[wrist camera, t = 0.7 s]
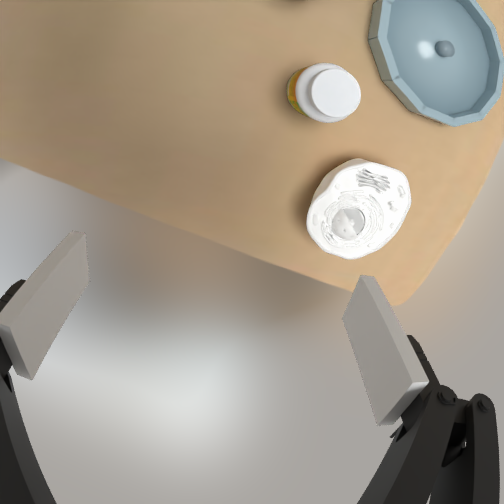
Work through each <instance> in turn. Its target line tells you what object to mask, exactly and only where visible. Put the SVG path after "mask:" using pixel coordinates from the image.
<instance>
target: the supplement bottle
mask: <svg viewBox="0 0 504 504" xmlns="http://www.w3.org/2000/svg"><path fill="white" fill-rule="evenodd" d="M287 97H288V100H289V102H290V104H291V105H292V107H293V108H294V109H295V110H296V111H298V112H299V113H301V114H303V115H305V116H307V117H309V118H312V119H314V120H316V121H320V122H324V123H333V122H338V121H340V120H343V119H344V118H346V117H347V116H348V115H350V114H351V113H353V112H354V111H355V109H356V108H357V107H358V105H359V102H360V99H361V91H360V87H359V84H358V82H357V81H356V79H355V78H354V77H353V76H352V75H351V74H350V73H348V72H347V71H346V70H345V69H343V68H342V67H340V66H338V65H335V64H331V63H318V64H314V65H311V66H308V67H306V68H303V69H300V70H298V71H297V72H295V73H294V74H293V75H292V76H291V78H290V79H289V81H288V84H287Z"/></svg>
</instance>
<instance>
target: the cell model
mask: <svg viewBox="0 0 504 504" xmlns="http://www.w3.org/2000/svg"><path fill="white" fill-rule="evenodd" d="M410 206H411V193H410V187H409V183H408V180H407V177H406V176H405V175H404V174H403V173H402V172H401V171H399V170H397V169H394V168H391V167H388V166H385V165H382V164H379V163H374V162H370V161H367V160H364V159H361V158H356V159H352V160H349V161H347V162H345V163H343V164H341V165H339V166H338V167H336V168H335V169H333V170H332V171H330V172H329V173H328V174H327V175H326V176H325V177H324V178H323V180H322V181H321V183H320V185H319V186H318V188H317V190H316V191H315V193H314V196H313V199H312V202H311V205H310V208H309V211H308V214H307V221H306V225H307V231H308V233H309V235H310V236H311V238H312V239H313V240H314V241H315V242H316V244H317V245H318V246H319V247H320V248H321V249H322V250H323V251H325V252H327V253H329V254H333V255H336V256H339V257H341V258H344V259H358V258H361V257H363V256H366V255H368V254H370V253H373V252H375V251H377V250H379V249H380V248H382V247H383V246H384V245H385V244H386V243H387V242H388V241H389V240H390V239H391V238H392V237H393V236H394V235H395V234H396V233H397V231H398V230H399V229H400V227H401V225H402V223H403V221H404V219H405V217H406V215H407V212H408V210H409V208H410Z"/></svg>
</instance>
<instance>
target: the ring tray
mask: <svg viewBox="0 0 504 504" xmlns="http://www.w3.org/2000/svg"><path fill="white" fill-rule="evenodd" d="M494 27H495V26H494V25H493V23H492V22H491V21H490V19H489V18H488V16H487V15H486V14H485V12H484V11H483V10H482V8H481V7H480V6H479V4H478V3H477V2H476V0H377V1H376V2H375V3H374V4H373V9H372V16H371V22H370V29H369V35H368V42H369V45H370V48H371V50H372V53H373V56H374V59H375V62H376V65H377V68H378V71H379V74H380V77H381V80H382V81H383V82H384V83H385V84H386V85H387V87H388V88H389V89H390V90H391V91H392V92H393V93H394V94H395V95H396V96H397V97H398V99H399V100H400V101H401V102H402V103H403V104H404V105H405V107H406V108H407V109H408V110H409V111H411V112H414V113H416V114H419V115H422V116H424V117H427V118H429V119H432V120H434V121H437V122H439V123H442V124H446V125H449V126H452V127H456V126H460V125H464V124H468V123H472V122H476V121H480V120H483V118H484V117H485V116H486V114H487V113H488V112H489V111H490V109H491V108H492V107H493V106H494V104H495V103H496V102H497V100H498V99H499V98H500V96H501V90H502V83H503V76H504V57H503V53H502V49H501V45H500V42H499V38H498V35H497V32H496V28H494Z"/></svg>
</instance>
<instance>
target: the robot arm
mask: <svg viewBox="0 0 504 504" xmlns="http://www.w3.org/2000/svg"><path fill="white" fill-rule="evenodd" d="M87 257H88V256H87V245H86V233H83V232H77V231H72V232H71V233H69V234H68V235H67V236H66V238H65V239H64V240H63V241H62V242H61V243H60V244H59V245H58V246H57V247H56V248H55V249H54V250H53V251H52V252H51V253H50V254H49V256H48V257H47V258H46V259H45V260H44V261H43V262H42V263H41V264H40V265H39V267H38V268H37V269H36V270H35V271H34V272H33V273H32V274H31V276H30V277H29V278H28V279H27V280H22V279H21V280H20V281H18V282H16V283H15V284H13V285H12V286H11V287H10V288H9V289H8V290H7V291H6V293H5V295H3V296H2V297H1V299H0V504H56V502H55V500H54V498H53V496H52V494H51V492H50V489H49V487H48V485H47V483H46V481H45V478H44V476H43V474H42V472H41V469H40V467H39V464H38V462H37V460H36V457H35V454H34V452H33V449H32V446H31V443H30V441H29V438H28V435H27V432H26V429H25V426H24V423H23V420H22V417H21V413H20V410H19V406H18V403H17V399H16V395H15V391H14V387H13V383H12V379H11V376H10V374H9V372H8V371H9V369H10V368H11V366H12V365H13V367H14V369H15V371H16V373H17V375H20V376H23V377H25V378H27V379H30V380H33V378H34V376H35V374H36V372H37V370H38V368H39V366H40V365H41V363H42V361H43V359H44V357H45V355H46V354H47V352H48V350H49V348H50V346H51V344H52V342H53V341H54V339H55V338H56V336H57V334H58V332H59V331H60V329H61V327H62V326H63V324H64V322H65V320H66V319H67V317H68V315H69V314H70V312H71V311H72V309H73V307H74V306H75V304H76V302H77V301H78V299H79V298H80V296H81V295H82V293H83V291H84V290H85V288H86V287H87V285H88V284H89V282H90V276H89V267H88V258H87ZM342 320H343V322H344V325H345V328H346V330H347V334H348V337H349V339H350V342H351V345H352V348H353V351H354V354H355V357H356V360H357V363H358V365H359V369H360V372H361V375H362V378H363V381H364V385H365V388H366V391H367V394H368V397H369V400H370V404H371V407H372V410H373V413H374V416H375V420H376V423H377V426H381V425H391V424H394V423H395V422H396V420H397V419H398V418H399V417H400V416H401V418H402V421H403V423H402V424H401V426H400V427H399V428H398V429H397V430H396V431H395V432H394V433H393V434H392V435H391V436H390V438H393V437H394V436H395V437H394V439H393V441H392V443H391V445H390V447H389V449H388V451H387V453H386V455H385V457H384V458H383V460H382V462H381V464H380V466H379V468H378V469H377V471H376V473H375V475H374V477H373V478H372V480H371V482H370V484H369V485H368V487H367V488H366V490H365V492H364V494H363V495H362V497H361V498H360V500H359V501H358V503H357V504H426V503H427V500H428V498H429V496H430V493H431V496H430V502H429V504H499V490H500V489H499V488H500V477H499V476H500V474H499V473H500V472H499V447H498V434H497V424H496V414H495V408H494V404H493V403H492V401H491V400H490V398H488V397H487V396H486V395H484V394H480V393H479V394H475V395H474V396H473V397H472V399H471V400H470V401H467V400H463V399H458V398H457V396H456V394H455V393H454V391H453V390H451V389H450V388H449V387H447V386H444V385H440V384H439V381H438V379H437V377H436V375H435V373H434V371H433V369H432V367H431V365H430V363H429V361H427V358H426V356H425V354H423V350H422V348H421V346H420V344H419V343H418V342H417V341H416V340H415V339H414V338H413V336H412V335H406V334H405V332H404V330H403V328H402V326H401V324H400V322H399V320H398V318H397V317H396V315H395V313H394V311H393V309H392V307H391V306H390V304H389V302H388V300H387V298H386V297H385V295H384V293H383V291H382V289H381V288H380V286H379V284H378V282H377V281H376V279H375V277H373V276H366V275H360V278H359V280H358V282H357V285H356V287H355V290H354V292H353V294H352V297H351V299H350V302H349V304H348V306H347V308H346V311H345V313H344V315H343V317H342ZM465 442H466V447H465Z"/></svg>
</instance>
